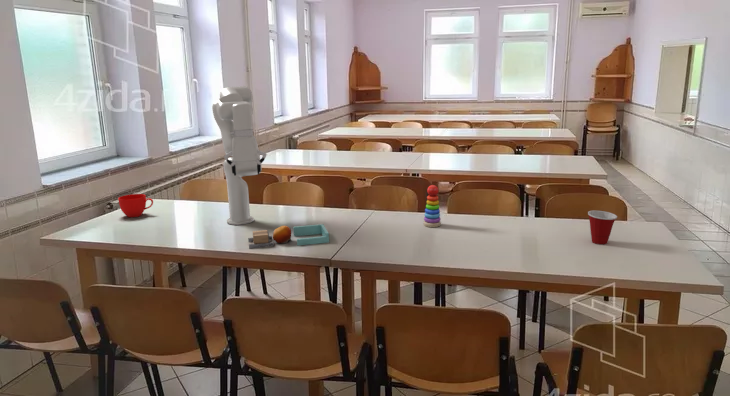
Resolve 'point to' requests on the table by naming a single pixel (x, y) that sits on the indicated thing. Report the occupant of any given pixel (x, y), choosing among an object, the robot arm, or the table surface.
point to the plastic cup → (601, 226)
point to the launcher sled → (261, 236)
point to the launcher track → (260, 243)
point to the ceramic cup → (133, 204)
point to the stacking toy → (432, 208)
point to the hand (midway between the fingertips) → (246, 174)
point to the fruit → (282, 234)
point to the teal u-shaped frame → (310, 231)
